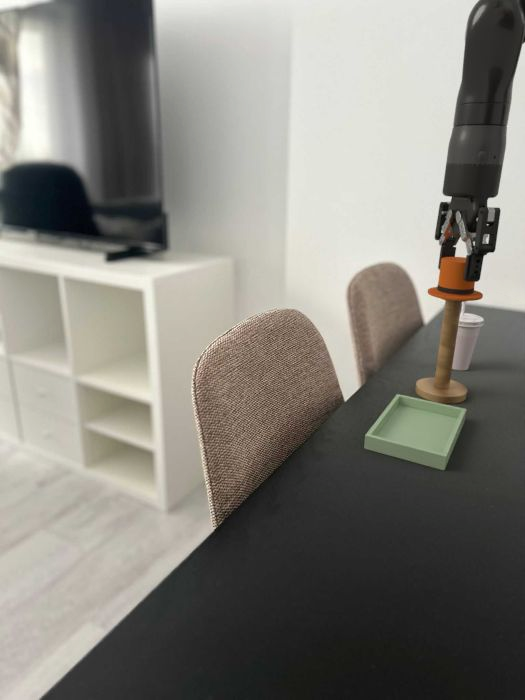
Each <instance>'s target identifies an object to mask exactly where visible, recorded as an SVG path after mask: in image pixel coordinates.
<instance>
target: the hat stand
mask: <svg viewBox="0 0 525 700" xmlns="http://www.w3.org/2000/svg"><path fill="white" fill-rule="evenodd" d="M439 299H441V298H439ZM441 300H443V301H444V309H443V315H442V321H441V322H442V323H441V331H440V336H439V344H438V351H437V352H438V353H437V359H436V367H435V373H434V376H432V377H423V378H420V379H418V380H417V381H416V383H415V388H414V389H415V394H417V395H418V396H419V397H421V399H423V400H427V401H432V402H436V403H441V404H446V405H449V404H452V405H453V404H458V403H462V402H464V401H465V400H466V399H467V397H468V388H467V387H466V386H465V385H464V384H462V383H461V382H458V381H456V380H453V379H451V377H452V373H453V372H452V371H453V369H452V365H453V358H454V352H455V345H456V338H457V331H458V325H459V318H460V313H461V310H462V303H463V302H466V303H467V301H456V300H447V299H441Z"/></svg>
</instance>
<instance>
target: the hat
mask: <svg viewBox="0 0 525 700" xmlns="http://www.w3.org/2000/svg"><path fill="white" fill-rule="evenodd" d="M465 262H466V257H464V256H455V257H444V258H442V259H441V266H440V270H439V275H438V283H437V286H433V287H430V288H428V289H427V294H428V295H429V296H431V297H434V298H437V299H440V298H441V300H443V299H447V300H456V301H466V302H473V301H474V302H475V301H478V300H482V299H483V297H484V294H483V293H482V292H480V291H478V290H476V289H475V283H476V282H467V281H465V280H464V279H463V275H464V269H465Z"/></svg>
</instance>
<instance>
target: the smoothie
mask: <svg viewBox="0 0 525 700" xmlns="http://www.w3.org/2000/svg"><path fill="white" fill-rule="evenodd" d="M466 304H467V301H466V302H462V305H461V311H460V318H459V325H458V331H457V338H456V345H455V352H454V358H453V365H452V370H454V371H461V372H462V371H467V370H469V367H470V364H471V360H472V358H473V354H474V350H475V347H476V344H477V341H478V338H479V335H480V331H481V327H482V326H484V325H485V324H484V321H485V319H484V317H482V316H480V315H478V314H474V313H469V312H465V311H466V306H467V305H466Z"/></svg>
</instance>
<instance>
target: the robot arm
mask: <svg viewBox="0 0 525 700" xmlns="http://www.w3.org/2000/svg"><path fill="white" fill-rule="evenodd" d="M524 44H525V0H478V1H477V2H476V3H475V4H474V5H473V7H472V9H471V11H470V12H469V14H468V18H467V21H466V26H465V32H464V50H463V59H462V60H463V61H462V71H461V81H460V85H459V89H458V93H457V96H456V102H455V108H454V115H453V123H452V129H451V134H450V138H449V141H448V146H447V153H446V154H447V155H446V162H445V170H444V177H443V184H442V185H443V186H442V195H443V196H444V197H451V199H450V201H440V203H439V206H438V212H437V219H436V225H435V232H434V240H435V241H438V245H439V246H440V251H439V258H438V265H437V269H438V270H439V271H440V266H441V259H442V258H444V257H456V252H457V244H458V243H459V240H460V239H461V242H463V243H465V248H466V257H465V258H466V262H465V269H464V275H463V279H464V280H465V281H467V282H475V283H476V282H477V283H478V282H479V281H480V279H481V276H482V268H483V262H484V258H485V256H487V255H488V254H490V253H494V252H495V251H496V246H497V242H498V241H497V239H498V234H499V233H498V231H499V225H500V219H501V208H500V207H494V206H493V207H491V206H490V207H488V201H489V199H494V198H496V197H497V196H498V195H499V189H500V184H501V178H502V173H503V167H504V161H505V154H506V149H507V130H508V124H509V117H510V111H511V106H512V99H513V86H514V80H515V76H516V73H517V68H518V64H519V60H520V56H521V52H522V48H523V45H524ZM487 239H488V242H487Z"/></svg>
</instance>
